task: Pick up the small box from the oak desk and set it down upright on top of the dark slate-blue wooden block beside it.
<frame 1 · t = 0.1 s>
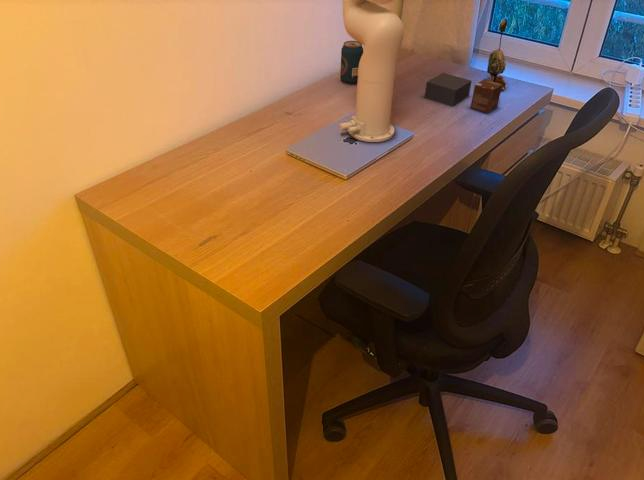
soda can: (350, 82, 176), on the table
plant with pod: (493, 87, 174), on the table
block: (446, 96, 167), on the table
box: (483, 108, 161), on the table
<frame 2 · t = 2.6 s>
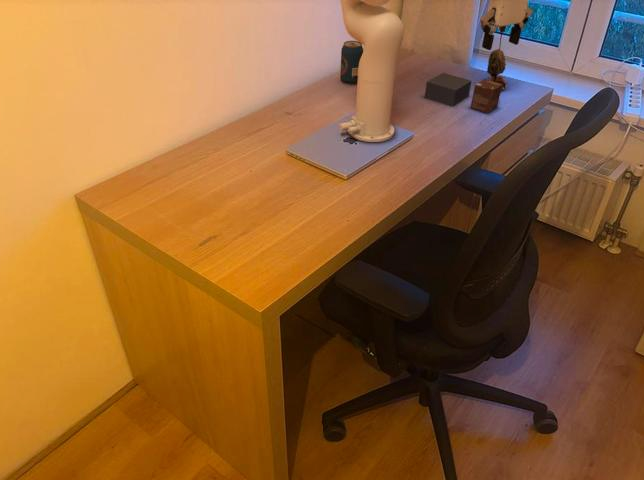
hand: (499, 45, 150), 18 cm above the table, tool pointing down, fingers open, 9 cm apart
nothing on the table moved.
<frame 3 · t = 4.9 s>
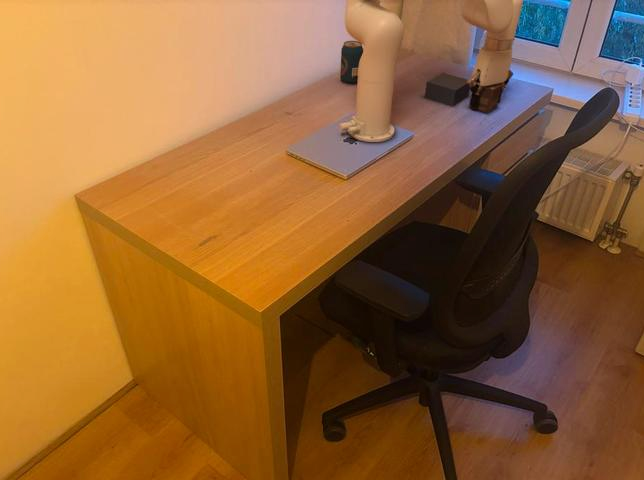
hand: (484, 103, 160), 1 cm above the table, tool pointing down, fingers closed on box, 7 cm apart
box: (483, 108, 161), on the table, touching gripper
everything else where it was.
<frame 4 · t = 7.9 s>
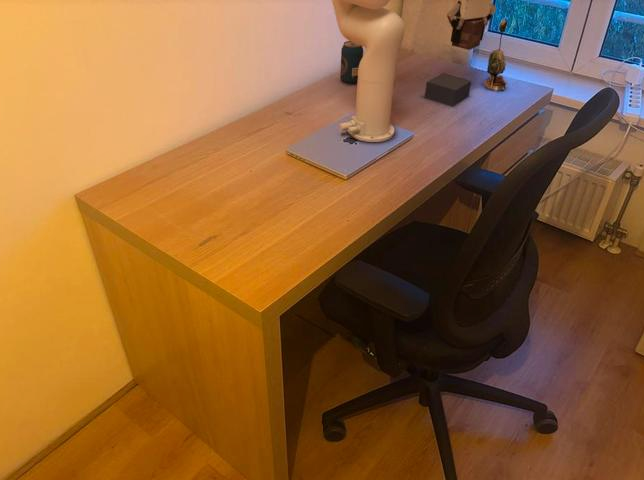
hand: (466, 40, 154), 18 cm above the table, tool pointing down, fingers closed on box, 7 cm apart
box: (465, 46, 155), point 16 cm above the table, touching gripper
everything else where it was.
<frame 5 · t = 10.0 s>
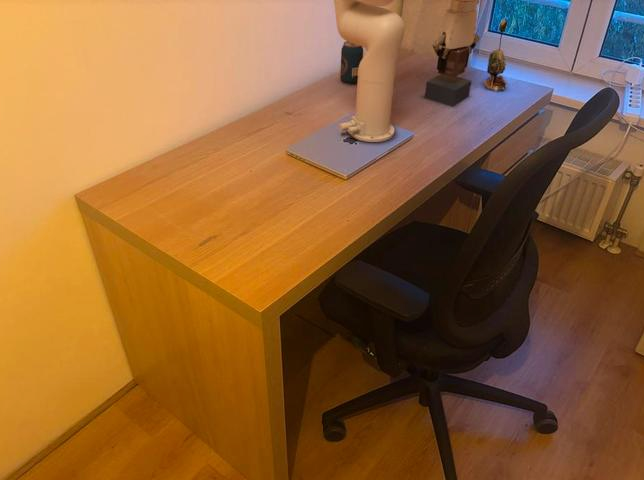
hand: (451, 68, 161), 9 cm above the table, tool pointing down, fingers closed on box, 7 cm apart
box: (450, 73, 162), point 7 cm above the table, touching gripper
everything else where it was.
when the fingers open (6 cm above the table, at t = 11.4 s): box stays where it is, resting on block.
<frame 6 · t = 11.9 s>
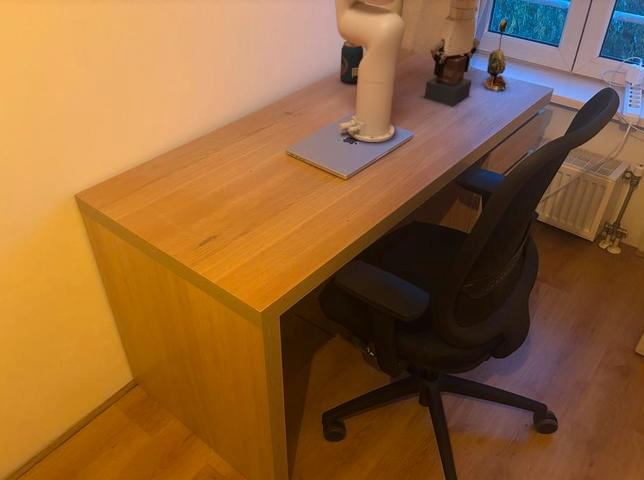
hand: (450, 73, 162), 7 cm above the table, tool pointing down, fingers open, 9 cm apart
box: (449, 81, 164), point 5 cm above the table, touching block
everything else where it was.
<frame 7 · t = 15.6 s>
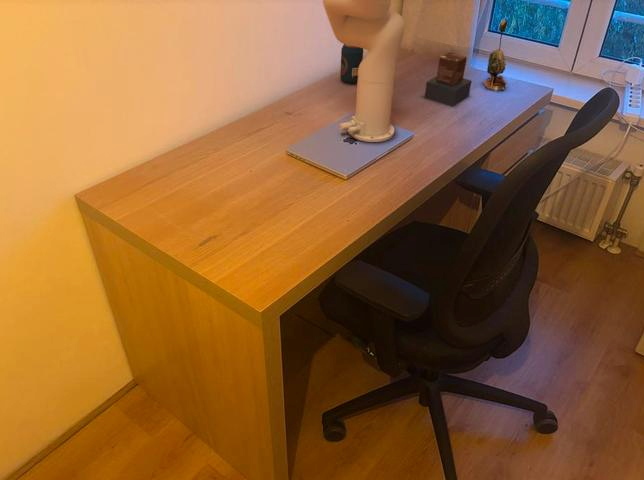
nothing on the table moved.
at the end: box 0.0 cm off-centre on the block, point 4.8 cm above the block's base; box tilted 0° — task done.
